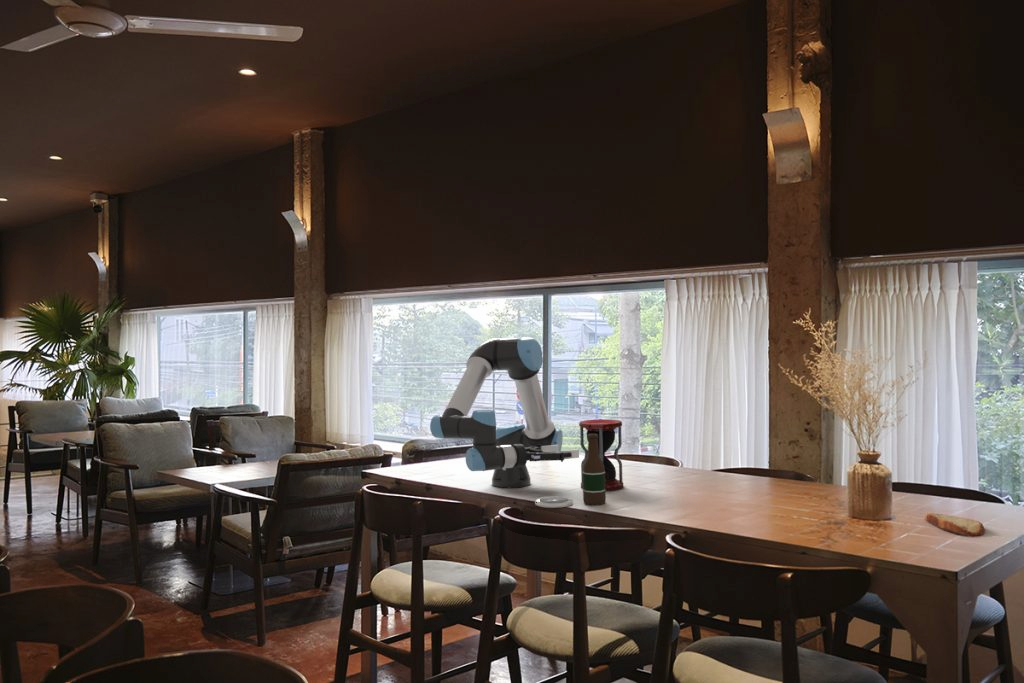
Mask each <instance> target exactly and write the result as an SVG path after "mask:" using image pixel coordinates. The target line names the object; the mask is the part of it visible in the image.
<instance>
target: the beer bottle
mask: <svg viewBox="0 0 1024 683" xmlns="http://www.w3.org/2000/svg"><path fill="white" fill-rule="evenodd" d="M587 450H588V455H587V458H586V460H585V461H584V464H583V488H582V497H583V503H584V505H587V506H602V505H604V504H606V502H607V501H606V498H607V496H606V495H607V493H606V492H607V491H605V466H604V464H603V461H602V460H601V459H600V456H599V449H598V434H588V441H587Z"/></svg>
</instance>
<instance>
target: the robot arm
mask: <svg viewBox="0 0 1024 683" xmlns="http://www.w3.org/2000/svg"><path fill="white" fill-rule="evenodd" d="M543 361H544V357H543V350H542V347H541V344H540V343H539V341H538V340H537V339H536V338H533V337H525V336H524V337H523V336H522V337H506V338H505V337H502V338H501V337H495V338H491V339H489V340H486V341H484V342H483V343H481V344H480V345H479V346H477V348H476V349H474V351H473V352H472V353H471V354H470V356H469V357H468V359H467V361H466V369H465V370H464V373H463V375H462V377H461V379H460V381H459V382H458V385H457V387H456V388H455V390H454V393H453V394H452V396H451V398H450V399H449V402H448V403H447V405H446V408H445V409H444V411H443V413H442V414H438V415H434V416H432V418H431V420H430V424H429V425H430V426H429V430H430V432H431V435H432V436H433V437H434V438H435V439H436V438H437V439H443V440H446V439H449V440H454V439H455V440H456V439H457V440H459V439H460V440H461V439H462V440H472V447H471V448H467V450H466V452H465V454H466V455H465V464H466V467H467V469H469V471H471V472H486V471H493V470H494V471H493V475H492V479H491V485H492V486H493V487H498V488H506V489H508V488H522V487H526V486H527V487H528V486H529V485H531V476H530V474H529V473H530V472H529V470H528V467H527V462H528V461H529V462H546V461H548V462H549V461H560V462H561V463H563V462H564V461H565V460H569V459H570V460H571V459H577V458H578V459H579V458H580V449H579V448H577V449H576V448H575V449H565V450H562V447H563V439H564V438H563V436H564V435H563V431H562V429H561V428H558V427H557V428H556V425H555V423H554V421H552V420H551V419H550V418H549V416H548V411H547V407H546V404H545V399H544V396H543V390H542V388H541V384H540V380H539V377H538V373H539V372H540V370H541V368H542V366H543ZM496 371H507V374H508V377H509V378H510V379H511V380H513V381H514V383H515V387H516V391H517V394H518V398H519V402H520V405H521V409H522V412H523V415H524V420H525V423H526V425H525V423H515V424H510V425H509V424H508V425H507V424H506V425H503V426H500V427H497V419H496V412H495V411H494V410H493V409H475V410H473V411H472V415H469V413H470V411H471V409H472V407H473V405H474V403H475V402H476V399H477V397H478V395H479V393H480V391H481V389H482V387H483V385H484V382H485V380H486V379H487V378H489V377H490V376H491V375H492V373H493V372H496Z"/></svg>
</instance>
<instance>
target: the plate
mask: <svg viewBox="0 0 1024 683" xmlns="http://www.w3.org/2000/svg"><path fill="white" fill-rule="evenodd" d="M537 499H540V502H537V503H536V502H535V501H534V504H535V506H537V507H540V508H544V509H545V508H546V509H547V508H548V509H557V508H558V509H559V508H566V507H569V506H570V507H571V506H572V505H573V504H574V502H573V501H574V500H573V498H571V497H567V496H555V495H554V496H553V495H552V496H541V497H538V498H537Z"/></svg>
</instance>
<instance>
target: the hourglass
mask: <svg viewBox="0 0 1024 683" xmlns="http://www.w3.org/2000/svg"><path fill="white" fill-rule="evenodd" d="M578 426H579V427H580V428H579V432H580V433H579V434H580V439H579V440H580V446H581V449H582V450H583V451H584V458H583V459H582V461H581V465H580V472H581V474H580V475H581V476H580V477H581V482H580V488H581V489H583V464H584V461H585V460H586V458H587V455H588V448H586V446H585V445H584V444H585V443H584V442H585V441H584V440H585V439H584V438H585V437H584V429H585V430H586V439H587V440H586V441H587V442H588V434H598V449H599V456H600V459H601V460H602V461H603V464H604V466H605V491H606V492H611V491H617V490H621V489H623V488H624V481H623V463H622V460H621V459H620V458H619V454H618V453H619V450H620V449H621V447H622V444H623V443H622V442H623V440H622V426H623V421H621V420H618V419H606V418H605V419H604V418H603V419H602V418H599V419H596V418H595V419H586V420H585V419H584V420H580V421H579V422H578ZM616 429H617V430H618V432H617V434H618V437H617V438H618V445H617V447H616V448H615V449H614V452H613V456H614V459H615V460H616V461H617V463H618V473H619V474H618V475H619V476H618V478H619V479H617V470H616V467H615V465H614V464H613V462H612V461H611V460H610V459H609V458H608V456H606V452H608V450H609V449H610V448H611V447H612V446H613V444H614V442H615V440H616Z"/></svg>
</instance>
